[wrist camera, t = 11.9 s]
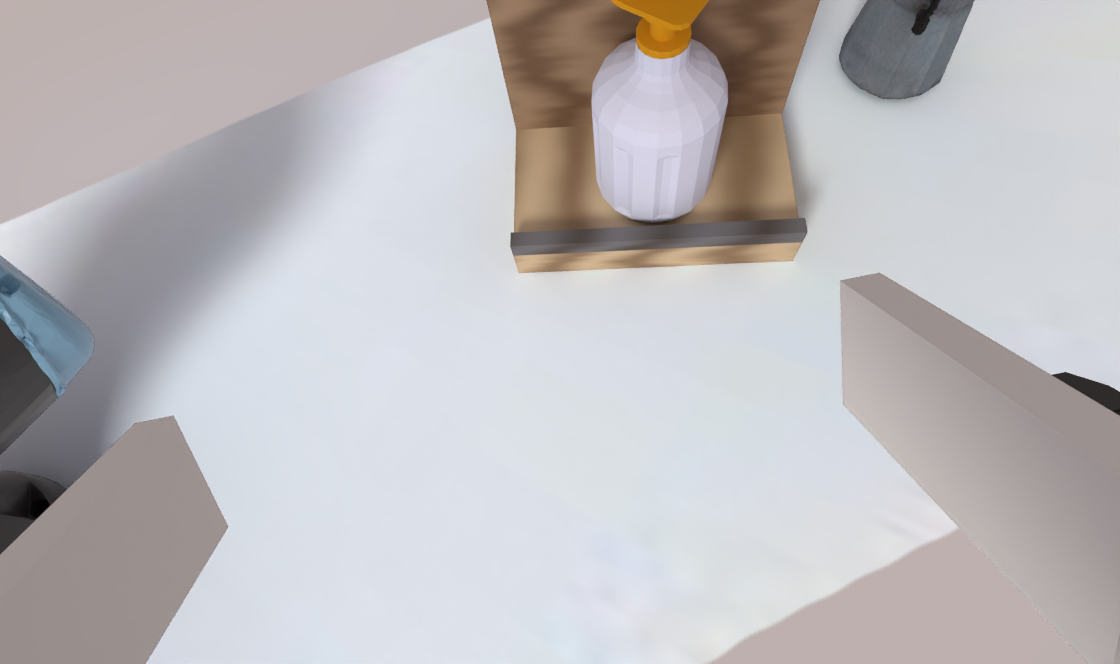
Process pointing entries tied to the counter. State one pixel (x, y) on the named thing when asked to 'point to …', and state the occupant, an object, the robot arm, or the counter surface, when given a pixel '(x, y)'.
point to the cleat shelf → (568, 141)
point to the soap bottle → (658, 114)
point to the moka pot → (902, 45)
